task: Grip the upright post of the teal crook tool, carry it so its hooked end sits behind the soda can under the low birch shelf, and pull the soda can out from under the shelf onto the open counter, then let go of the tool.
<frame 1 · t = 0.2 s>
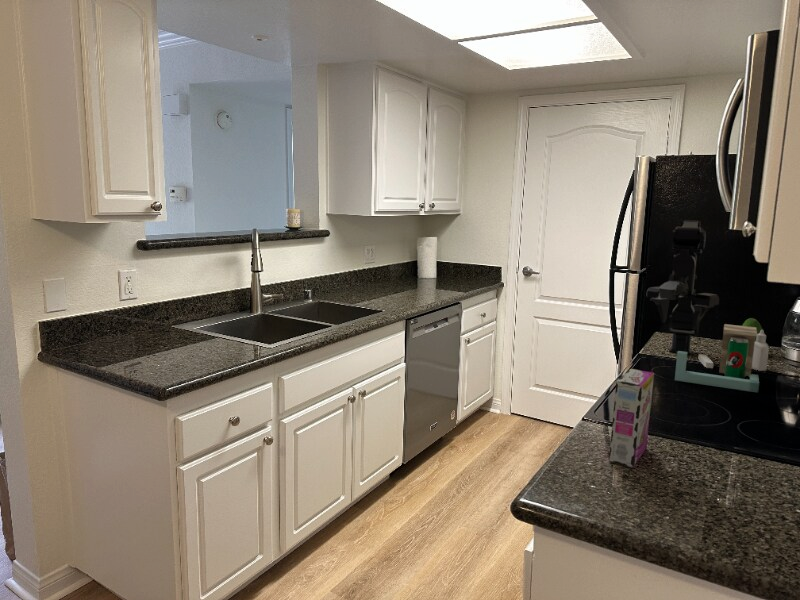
hand: (678, 325, 167), 15 cm above the worktop, tool pointing down, fingers open, 9 cm apart
soda can: (734, 378, 167), on the worktop
avocado: (748, 353, 195), on the worktop
crook tool: (679, 379, 165), on the worktop
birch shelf: (734, 377, 168), on the worktop
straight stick: (705, 364, 182), on the worktop
candy bar box: (628, 456, 116), on the worktop
eye dropper bottle: (757, 369, 177), on the worktop
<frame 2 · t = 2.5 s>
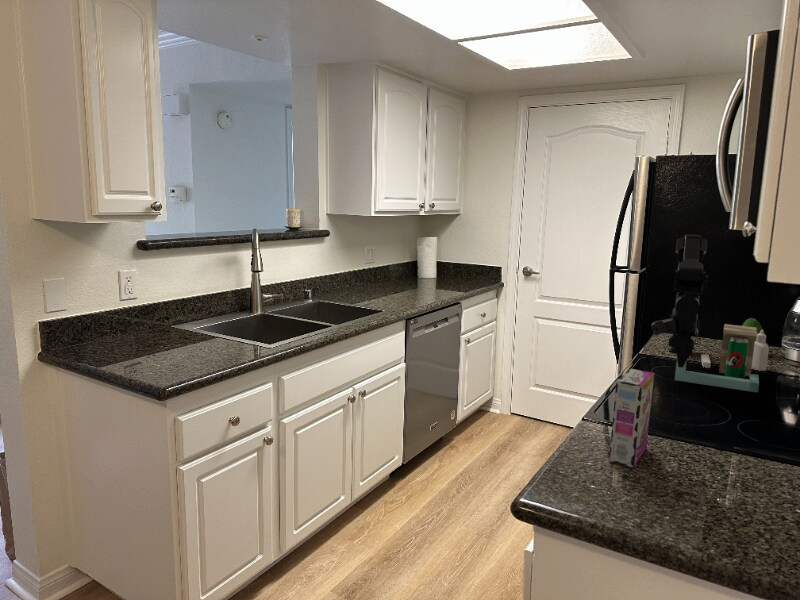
hand: (681, 366, 164), 4 cm above the worktop, tool pointing down, fingers closed on crook tool, 2 cm apart
crook tool: (679, 379, 165), on the worktop, touching gripper
everything else where it was.
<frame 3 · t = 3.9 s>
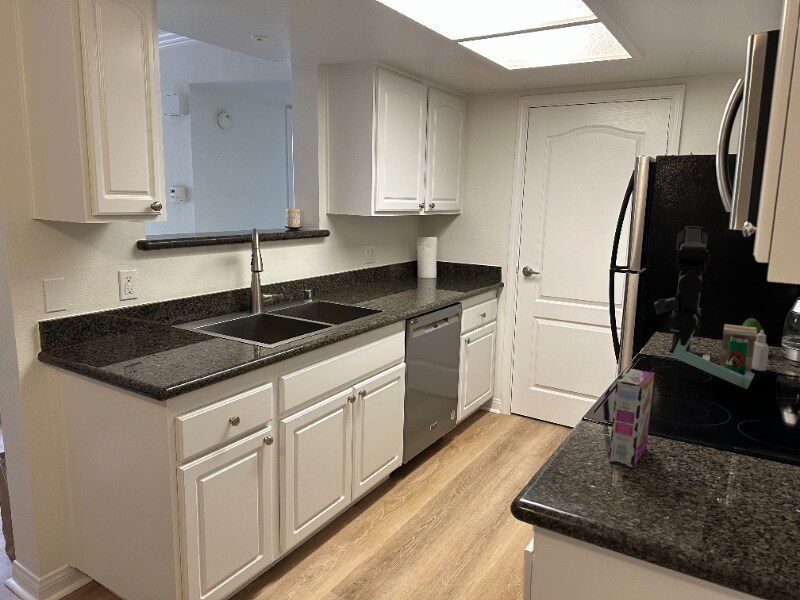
hand: (683, 344, 166), 10 cm above the worktop, tool pointing down, fingers closed on crook tool, 3 cm apart
crook tool: (676, 357, 168), point 5 cm above the worktop, tilted 17°, touching gripper
everything else where it was.
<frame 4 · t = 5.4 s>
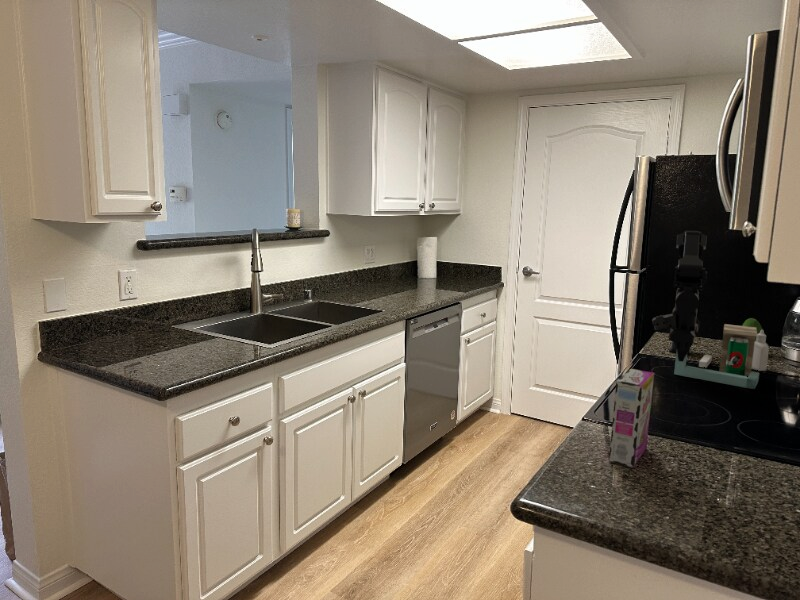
hand: (681, 360, 169), 4 cm above the worktop, tool pointing down, fingers closed on crook tool, 3 cm apart
crook tool: (679, 374, 170), on the worktop, touching gripper
everything else where it was.
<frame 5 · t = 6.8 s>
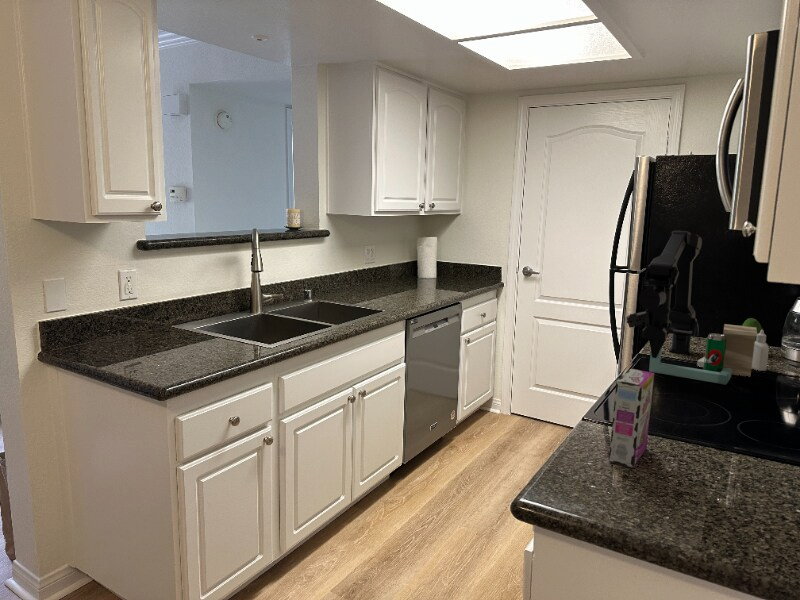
hand: (654, 356, 172), 4 cm above the worktop, tool pointing down, fingers closed on crook tool, 3 cm apart
soda can: (712, 375, 170), on the worktop, touching crook tool
crook tool: (654, 371, 173), on the worktop, touching gripper, soda can
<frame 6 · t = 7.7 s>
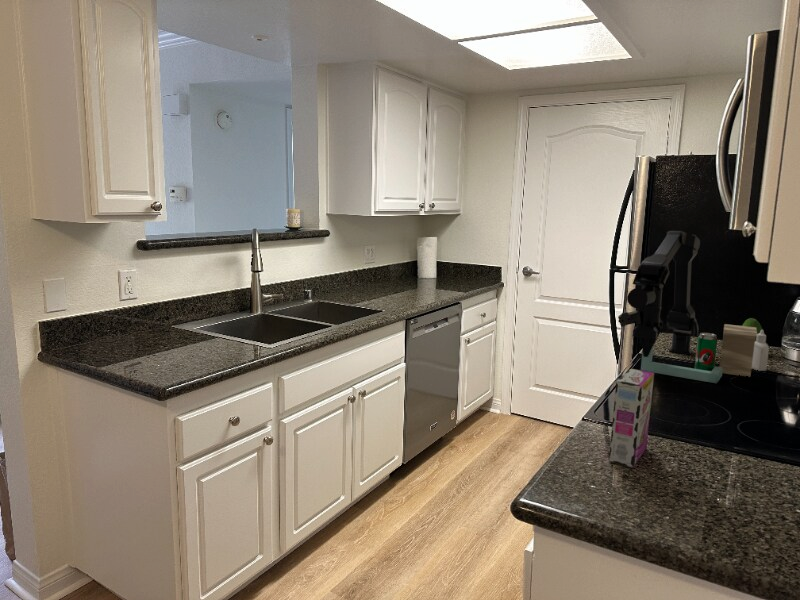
hand: (646, 355, 173), 4 cm above the worktop, tool pointing down, fingers closed on crook tool, 3 cm apart
soda can: (703, 374, 171), on the worktop, touching crook tool
crook tool: (646, 370, 174), on the worktop, touching gripper, soda can
when the fingers open (4 cm above the worktop, at t = 8.4 s): crook tool stays where it is, on the worktop.
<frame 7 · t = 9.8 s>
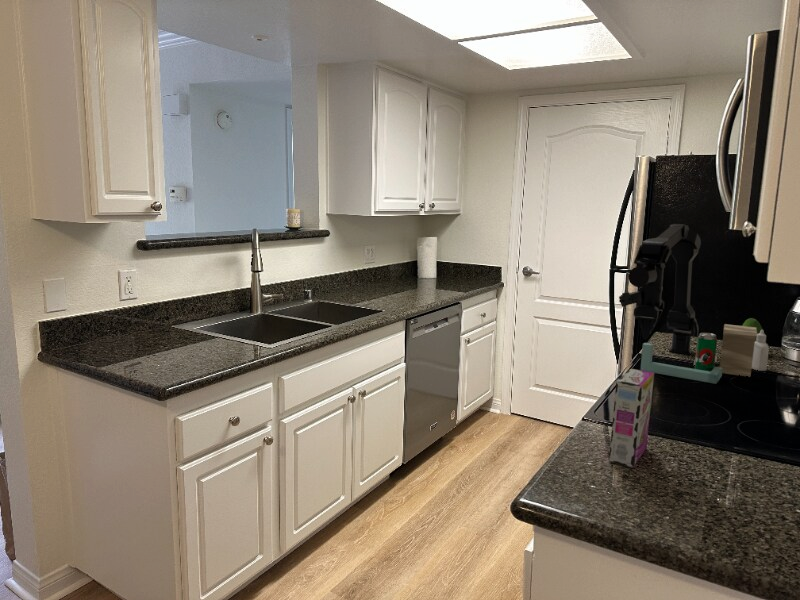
hand: (647, 336, 172), 10 cm above the worktop, tool pointing down, fingers open, 9 cm apart
soda can: (703, 374, 171), on the worktop
crook tool: (645, 370, 174), on the worktop
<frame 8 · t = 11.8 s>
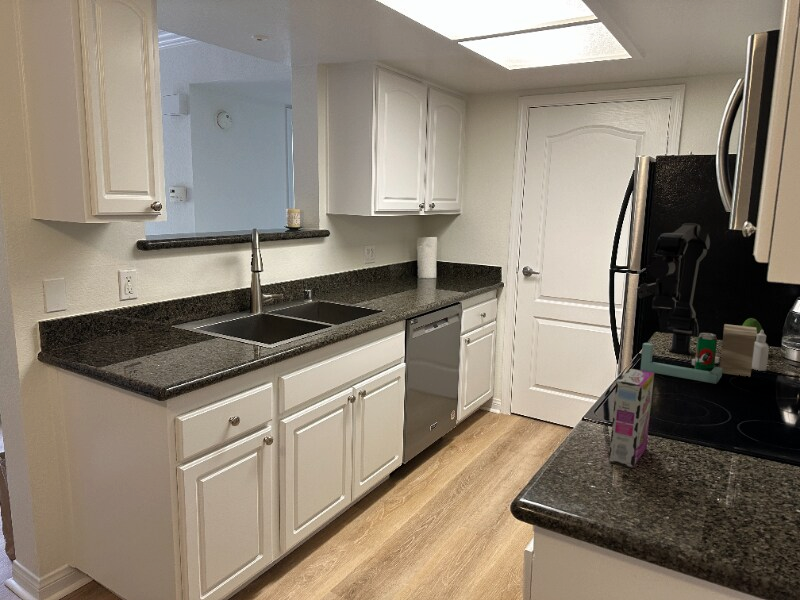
hand: (664, 326, 179), 12 cm above the worktop, tool pointing down, fingers open, 9 cm apart
at the end: soda can inside the target area (4.9 cm from its centre), on the worktop; soda can tilted 0°; the gripper is holding nothing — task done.
